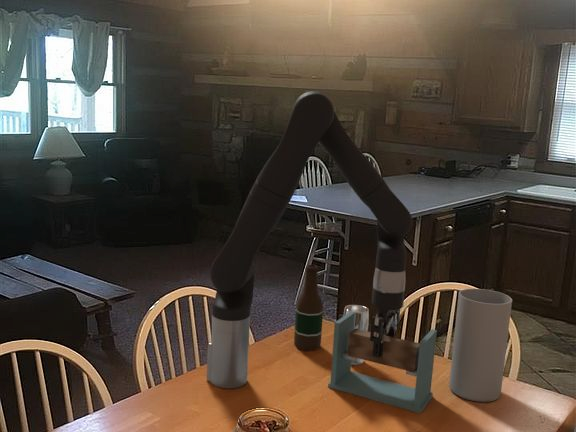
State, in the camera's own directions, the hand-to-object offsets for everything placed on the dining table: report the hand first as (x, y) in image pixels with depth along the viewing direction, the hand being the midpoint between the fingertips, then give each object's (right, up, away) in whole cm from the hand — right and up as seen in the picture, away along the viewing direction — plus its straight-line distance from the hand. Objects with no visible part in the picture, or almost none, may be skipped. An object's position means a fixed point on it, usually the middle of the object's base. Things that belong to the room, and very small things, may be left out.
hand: (383, 350), depth 152 cm
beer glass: (-5, -7, +20) cm, 22 cm away
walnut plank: (0, -3, 0) cm, 3 cm away
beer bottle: (-18, -5, +29) cm, 34 cm away
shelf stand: (-1, -11, +2) cm, 11 cm away
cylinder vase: (+24, -12, +5) cm, 27 cm away
